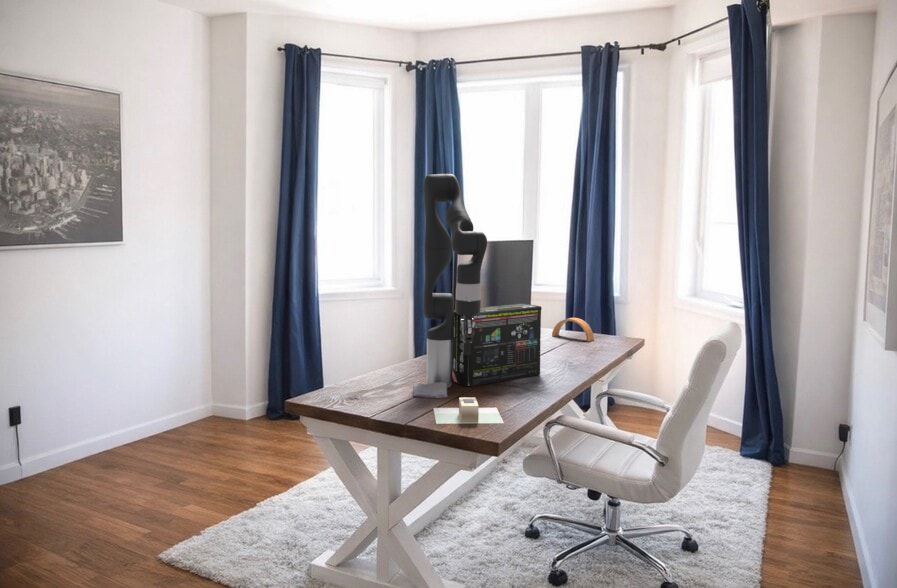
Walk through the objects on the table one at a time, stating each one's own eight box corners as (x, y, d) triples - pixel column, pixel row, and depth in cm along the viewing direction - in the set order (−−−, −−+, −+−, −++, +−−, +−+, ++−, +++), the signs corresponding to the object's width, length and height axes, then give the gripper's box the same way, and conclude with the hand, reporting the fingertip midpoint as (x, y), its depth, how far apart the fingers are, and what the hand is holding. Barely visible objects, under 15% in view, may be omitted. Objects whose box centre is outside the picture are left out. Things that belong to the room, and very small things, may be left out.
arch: (588, 342, 340) (589, 321, 339) (551, 336, 352) (552, 316, 351) (593, 340, 344) (594, 320, 343) (557, 335, 357) (558, 315, 355)
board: (433, 409, 224) (433, 407, 224) (496, 409, 226) (496, 407, 226) (436, 425, 209) (436, 423, 209) (504, 425, 210) (504, 423, 210)
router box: (522, 369, 281) (524, 302, 278) (541, 375, 272) (544, 306, 269) (448, 381, 261) (449, 309, 257) (466, 388, 252) (467, 313, 248)
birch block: (459, 397, 218) (461, 405, 209) (475, 397, 219) (478, 405, 210) (458, 413, 219) (461, 422, 210) (475, 413, 219) (478, 422, 210)
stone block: (448, 405, 237) (447, 391, 246) (448, 392, 235) (447, 379, 245) (412, 406, 236) (412, 392, 246) (412, 393, 235) (412, 380, 244)
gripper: (453, 294, 220) (452, 349, 223) (457, 301, 207) (456, 359, 210) (478, 294, 221) (476, 349, 223) (483, 301, 208) (482, 359, 210)
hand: (467, 354), depth 216 cm, fingers closed
